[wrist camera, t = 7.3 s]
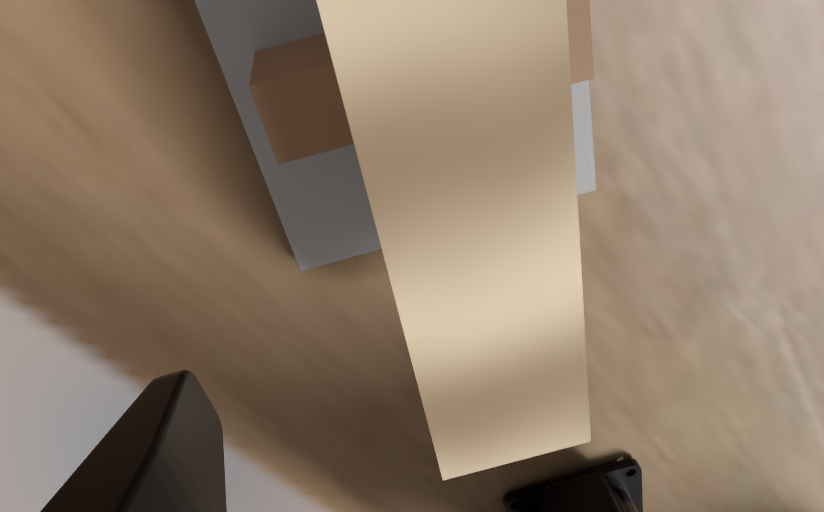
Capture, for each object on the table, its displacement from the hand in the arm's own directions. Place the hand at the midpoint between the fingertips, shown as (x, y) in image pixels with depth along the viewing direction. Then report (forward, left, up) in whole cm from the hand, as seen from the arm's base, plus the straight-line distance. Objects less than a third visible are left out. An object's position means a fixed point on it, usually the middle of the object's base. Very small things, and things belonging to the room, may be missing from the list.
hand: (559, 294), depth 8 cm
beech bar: (0, 0, -9) cm, 9 cm away
